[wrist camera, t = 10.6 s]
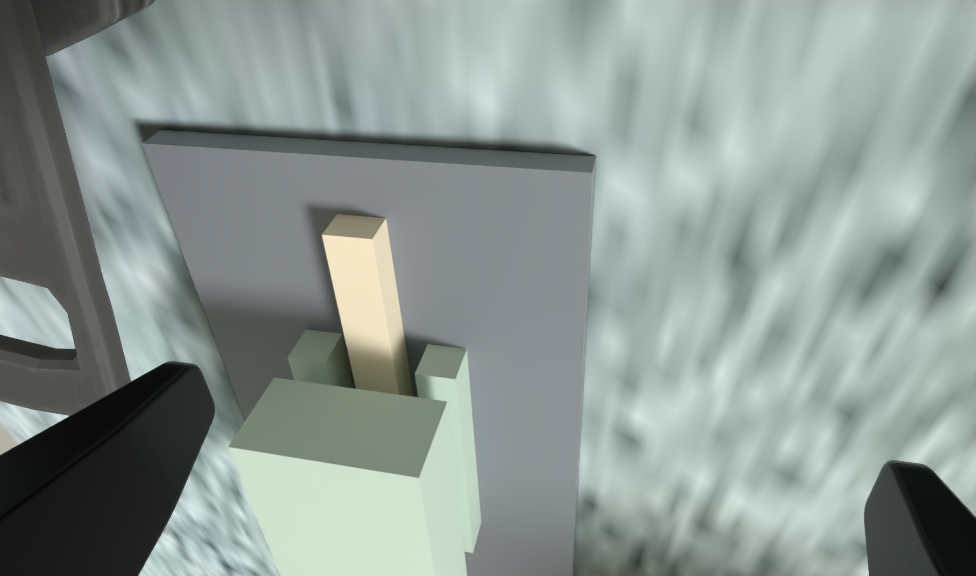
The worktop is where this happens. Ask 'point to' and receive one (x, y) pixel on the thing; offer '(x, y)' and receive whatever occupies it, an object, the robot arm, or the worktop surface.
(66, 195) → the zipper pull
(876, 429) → the worktop surface
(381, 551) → the cabinet block
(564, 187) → the cleat board
